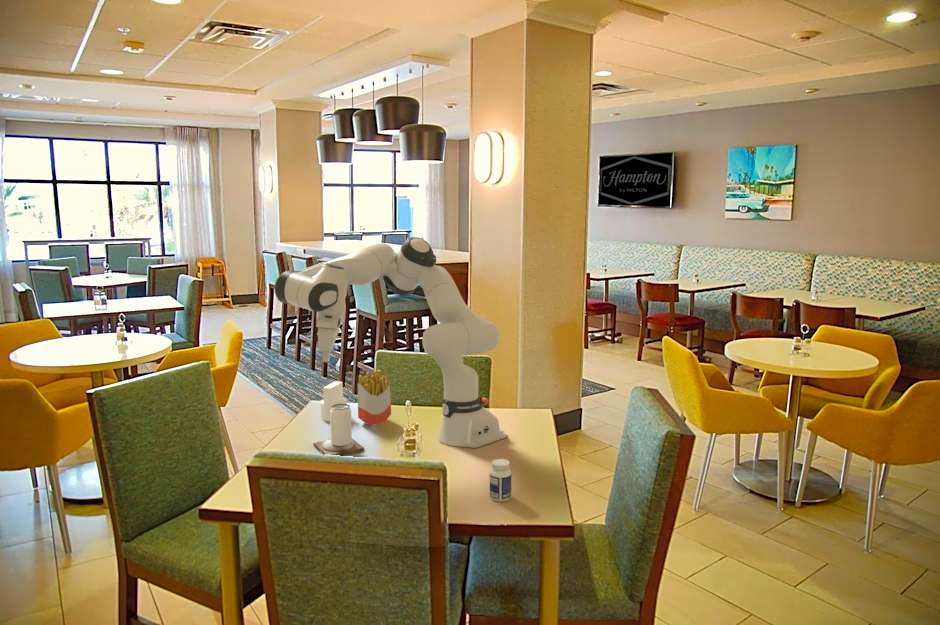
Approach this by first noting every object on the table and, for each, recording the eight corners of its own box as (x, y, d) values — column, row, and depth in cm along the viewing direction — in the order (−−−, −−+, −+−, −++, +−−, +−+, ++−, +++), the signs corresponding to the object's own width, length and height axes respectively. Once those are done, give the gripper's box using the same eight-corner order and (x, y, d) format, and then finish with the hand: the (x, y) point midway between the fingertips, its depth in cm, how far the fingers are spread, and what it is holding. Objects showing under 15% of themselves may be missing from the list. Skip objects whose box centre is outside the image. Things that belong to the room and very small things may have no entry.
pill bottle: (510, 492, 183) (510, 457, 181) (512, 502, 177) (512, 466, 175) (488, 493, 182) (489, 457, 181) (490, 502, 177) (490, 466, 175)
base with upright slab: (329, 412, 248) (328, 380, 246) (351, 414, 245) (350, 382, 243) (316, 419, 239) (315, 386, 237) (338, 422, 236) (338, 389, 234)
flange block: (348, 439, 221) (348, 434, 221) (364, 450, 211) (364, 445, 211) (313, 446, 214) (313, 441, 214) (327, 458, 205) (327, 453, 204)
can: (348, 447, 209) (347, 409, 207) (328, 446, 210) (327, 409, 208) (354, 439, 216) (353, 403, 214) (334, 439, 216) (333, 402, 214)
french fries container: (391, 421, 238) (391, 371, 235) (365, 427, 231) (364, 376, 228) (384, 417, 242) (383, 368, 239) (358, 424, 235) (357, 373, 232)
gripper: (325, 304, 222) (323, 344, 226) (315, 323, 202) (312, 366, 206) (345, 306, 222) (342, 346, 226) (336, 325, 203) (333, 368, 207)
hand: (328, 356), depth 216 cm, fingers open, 8 cm apart
